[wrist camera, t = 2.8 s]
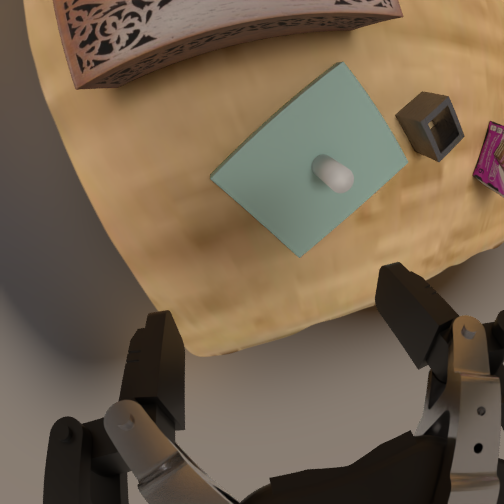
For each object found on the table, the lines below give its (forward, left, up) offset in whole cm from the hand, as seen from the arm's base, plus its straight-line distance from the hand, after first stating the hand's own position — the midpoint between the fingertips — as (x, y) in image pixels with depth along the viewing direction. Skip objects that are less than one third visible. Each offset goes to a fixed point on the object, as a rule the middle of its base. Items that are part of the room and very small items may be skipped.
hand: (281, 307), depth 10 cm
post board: (-6, +7, -22) cm, 24 cm away
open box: (-21, +12, -22) cm, 33 cm away
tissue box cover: (-13, -15, -23) cm, 30 cm away
